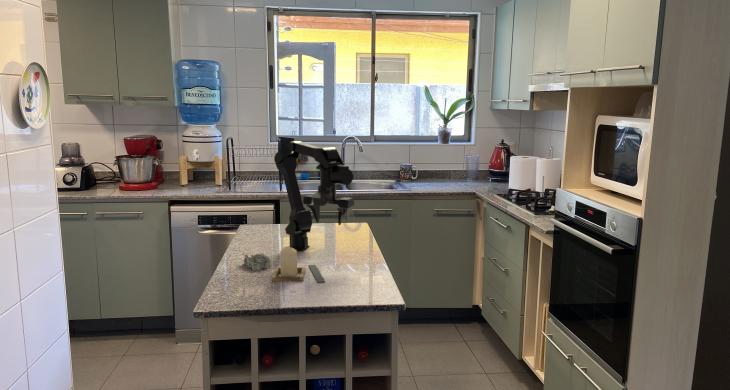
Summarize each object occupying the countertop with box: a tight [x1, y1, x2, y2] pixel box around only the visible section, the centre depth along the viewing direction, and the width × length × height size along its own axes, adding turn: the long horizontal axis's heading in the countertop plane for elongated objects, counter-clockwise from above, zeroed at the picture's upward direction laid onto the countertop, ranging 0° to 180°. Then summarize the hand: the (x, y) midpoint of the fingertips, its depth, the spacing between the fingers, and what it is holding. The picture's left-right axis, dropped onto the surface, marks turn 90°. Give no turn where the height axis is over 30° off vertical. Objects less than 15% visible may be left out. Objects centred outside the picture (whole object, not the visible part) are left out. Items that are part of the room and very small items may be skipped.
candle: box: [279, 245, 298, 276], centre depth 171 cm, size 6×6×10 cm
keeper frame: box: [271, 266, 306, 283], centre depth 172 cm, size 10×10×2 cm
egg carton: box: [242, 252, 272, 271], centre depth 183 cm, size 11×8×4 cm
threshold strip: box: [308, 264, 326, 284], centre depth 174 cm, size 18×2×1 cm, turn 16°
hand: (328, 223), depth 190 cm, fingers open, 9 cm apart
